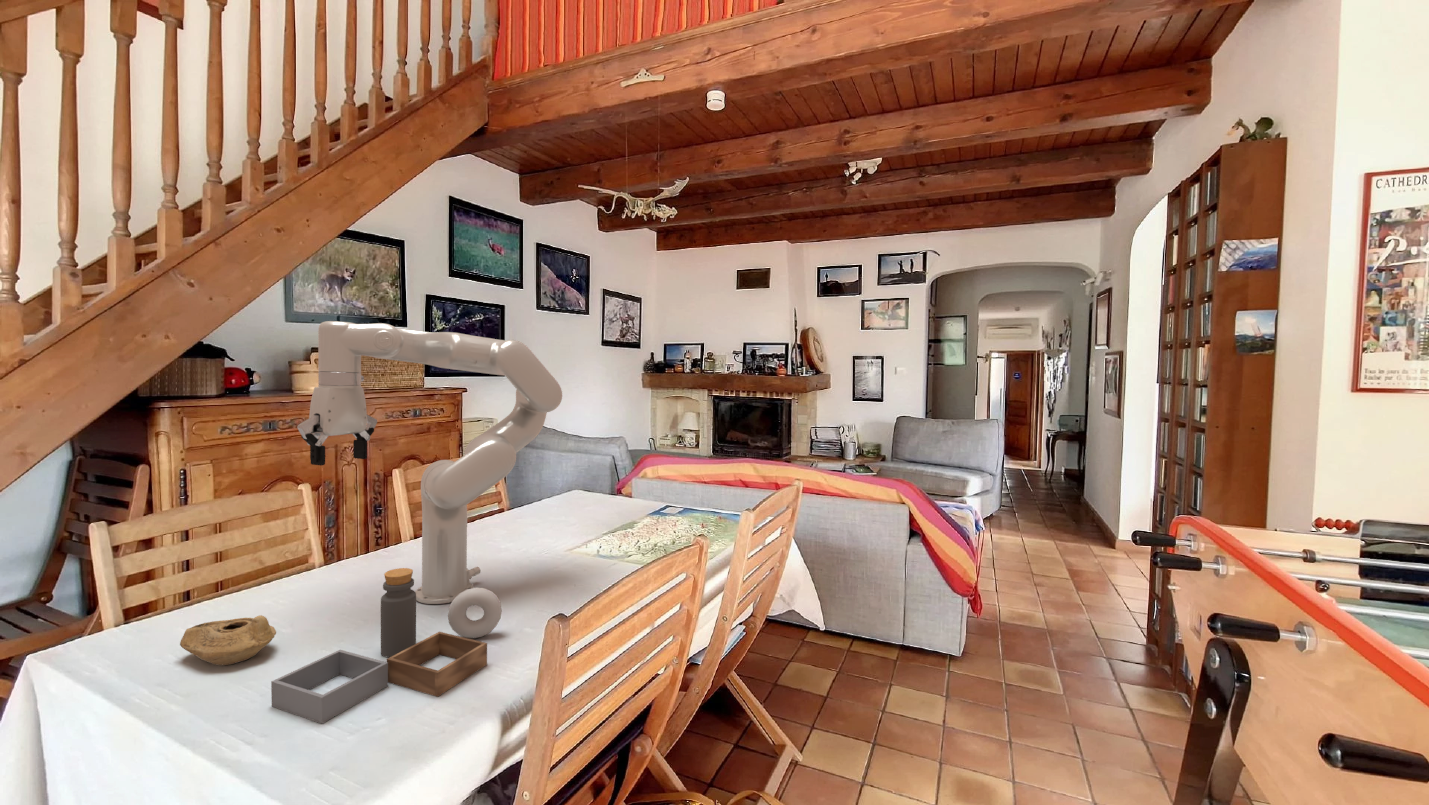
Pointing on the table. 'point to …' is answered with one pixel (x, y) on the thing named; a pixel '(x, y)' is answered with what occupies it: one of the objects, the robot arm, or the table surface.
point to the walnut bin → (433, 681)
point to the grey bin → (320, 708)
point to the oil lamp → (228, 639)
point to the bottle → (398, 612)
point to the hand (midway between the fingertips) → (339, 461)
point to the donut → (474, 627)
